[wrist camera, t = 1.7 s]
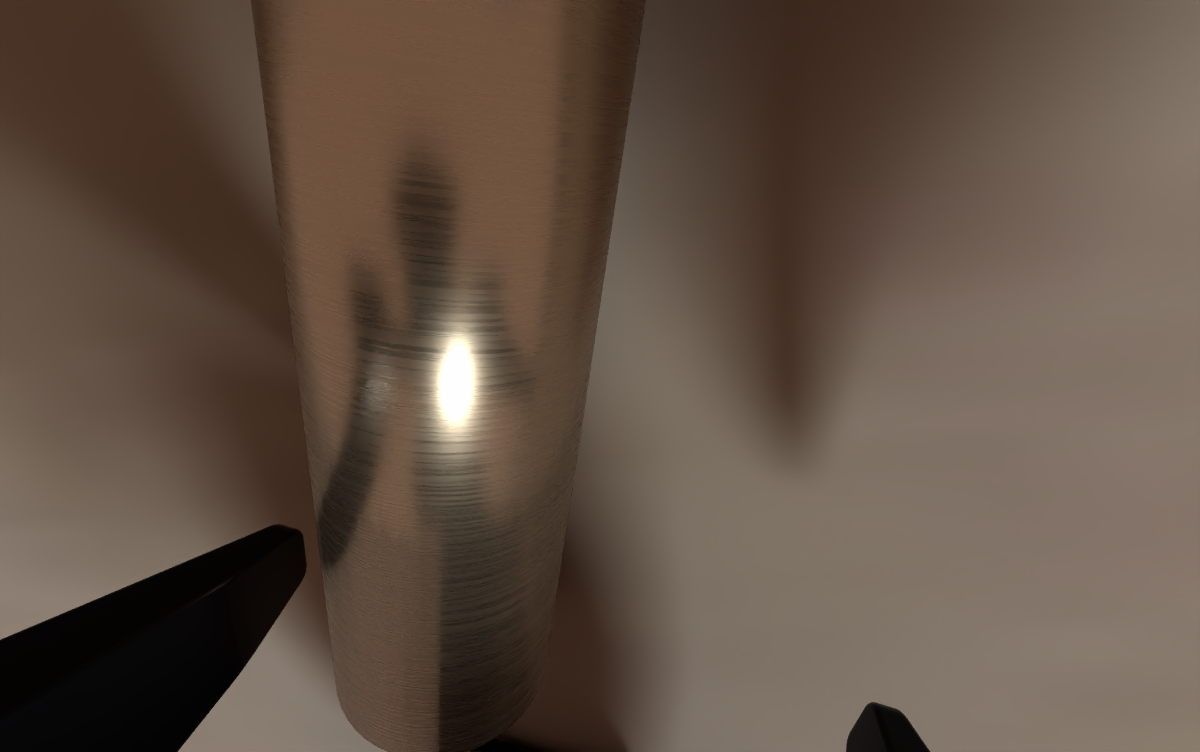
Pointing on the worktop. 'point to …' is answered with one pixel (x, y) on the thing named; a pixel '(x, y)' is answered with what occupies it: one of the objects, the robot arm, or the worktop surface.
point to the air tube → (443, 327)
